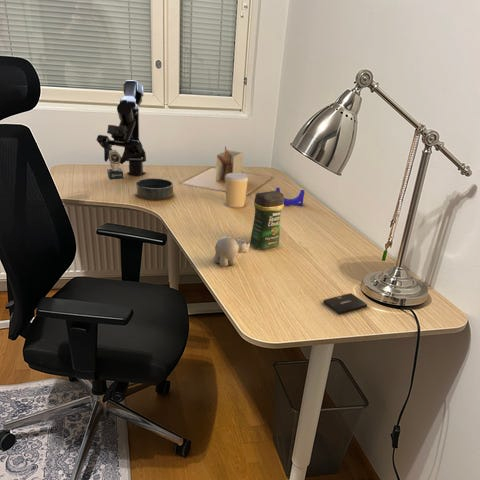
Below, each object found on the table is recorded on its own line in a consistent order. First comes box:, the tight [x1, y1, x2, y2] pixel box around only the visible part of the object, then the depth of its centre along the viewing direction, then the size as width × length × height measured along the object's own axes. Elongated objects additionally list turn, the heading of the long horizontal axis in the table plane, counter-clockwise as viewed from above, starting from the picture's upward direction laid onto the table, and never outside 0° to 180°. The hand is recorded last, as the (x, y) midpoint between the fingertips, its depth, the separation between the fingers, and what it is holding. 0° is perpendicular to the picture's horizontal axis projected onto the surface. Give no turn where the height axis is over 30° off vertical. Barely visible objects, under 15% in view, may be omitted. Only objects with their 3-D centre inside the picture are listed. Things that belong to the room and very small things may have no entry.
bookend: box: [214, 146, 246, 182], centre depth 219 cm, size 9×11×17 cm
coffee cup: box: [225, 173, 248, 208], centre depth 190 cm, size 9×9×12 cm
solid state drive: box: [323, 293, 368, 315], centre depth 127 cm, size 7×10×1 cm
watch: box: [106, 149, 124, 181], centre depth 189 cm, size 6×8×11 cm
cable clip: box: [275, 187, 305, 207], centre depth 197 cm, size 12×4×6 cm, turn 84°
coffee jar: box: [249, 189, 285, 250], centre depth 153 cm, size 10×8×19 cm
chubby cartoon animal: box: [213, 236, 250, 267], centre depth 143 cm, size 7×12×8 cm, turn 120°
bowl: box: [135, 177, 174, 201], centre depth 196 cm, size 15×15×5 cm
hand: (113, 162), depth 188 cm, fingers closed on watch, 7 cm apart
